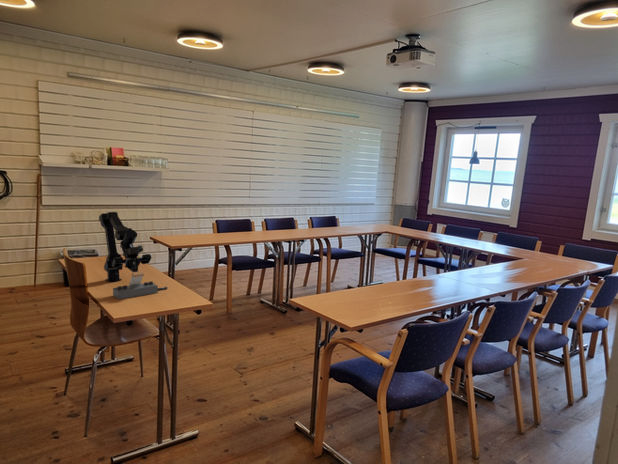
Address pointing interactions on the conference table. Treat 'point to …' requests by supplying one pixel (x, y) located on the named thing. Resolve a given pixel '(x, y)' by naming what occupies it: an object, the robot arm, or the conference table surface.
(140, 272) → the lever
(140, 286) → the breaker box
